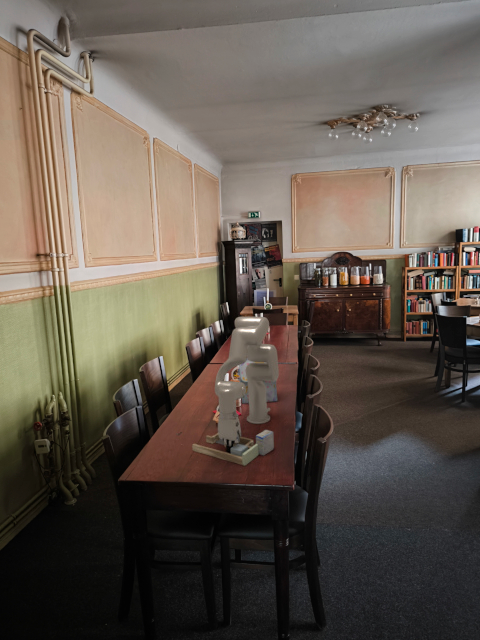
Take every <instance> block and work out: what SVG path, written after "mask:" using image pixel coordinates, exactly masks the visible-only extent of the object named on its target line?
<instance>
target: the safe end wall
mask: <svg viewBox="0 0 480 640" xmlns="http://www.w3.org/2000/svg"><path fill="white" fill-rule="evenodd" d="M258 456H260V454H259V446H258V444H256V443H254V446H252V447H251V448H250V449H248V450H247V451H246V452H244V453H243V454H242V462H243V465H242V466H247V465H248V464H249V463H251V462H252V461H253V460H254V459H255V458H257V457H258Z"/></svg>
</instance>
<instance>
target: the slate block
mask: <svg viewBox="0 0 480 640" xmlns="http://www.w3.org/2000/svg"><path fill="white" fill-rule="evenodd" d="M247 450H248V446H245V445H241V444H236V445H235V446H233V447H232V448H231V454H233V455H237V456H241V457H242V454H243V453H244V452H246V451H247Z"/></svg>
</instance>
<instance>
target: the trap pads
mask: <svg viewBox="0 0 480 640" xmlns="http://www.w3.org/2000/svg"><path fill="white" fill-rule="evenodd" d="M215 444H219V445H222V446H224V441H223V440H222V439H219V440H218V441H216V442H215ZM239 444H240V443H239ZM241 445H244V444H241Z"/></svg>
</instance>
